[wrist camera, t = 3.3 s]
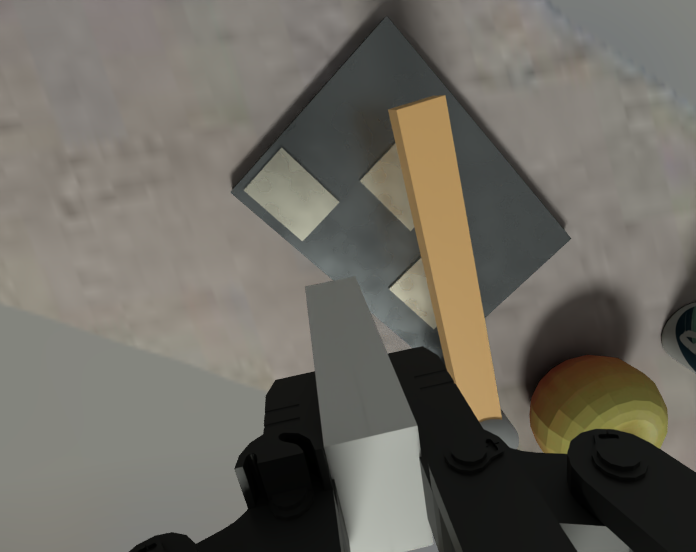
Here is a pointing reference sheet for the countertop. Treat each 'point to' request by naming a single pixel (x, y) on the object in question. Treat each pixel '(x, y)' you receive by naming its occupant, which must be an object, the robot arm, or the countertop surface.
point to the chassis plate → (392, 191)
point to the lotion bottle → (682, 337)
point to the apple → (595, 402)
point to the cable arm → (448, 254)
